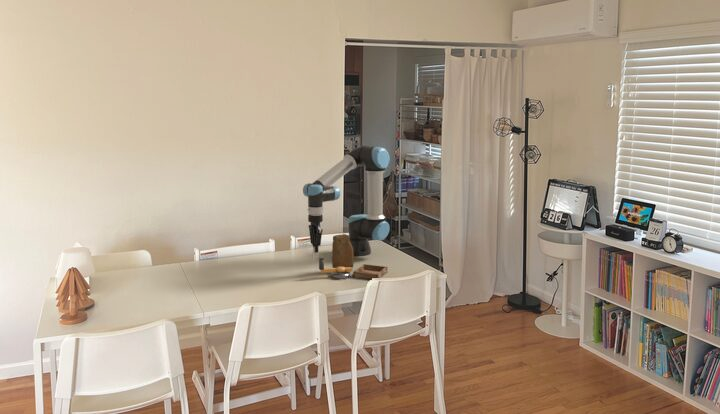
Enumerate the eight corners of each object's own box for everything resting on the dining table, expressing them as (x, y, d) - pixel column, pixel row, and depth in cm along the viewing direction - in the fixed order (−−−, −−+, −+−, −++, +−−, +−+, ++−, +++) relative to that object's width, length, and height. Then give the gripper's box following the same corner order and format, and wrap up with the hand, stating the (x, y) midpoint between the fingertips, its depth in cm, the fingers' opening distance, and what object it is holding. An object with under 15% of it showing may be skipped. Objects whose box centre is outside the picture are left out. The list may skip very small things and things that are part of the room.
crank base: (335, 272, 334) (335, 267, 333) (353, 275, 330) (353, 269, 330) (328, 278, 325) (328, 273, 324) (345, 280, 321) (345, 275, 320)
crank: (351, 269, 330) (351, 255, 329) (352, 272, 325) (352, 258, 324) (318, 270, 328) (318, 256, 326) (319, 273, 323) (319, 259, 321)
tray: (364, 269, 340) (364, 264, 339) (387, 272, 335) (387, 266, 334) (353, 277, 326) (353, 271, 326) (377, 280, 321) (377, 274, 321)
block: (336, 273, 332) (336, 237, 328) (331, 270, 339) (330, 234, 335) (354, 271, 336) (354, 235, 332) (349, 267, 343) (349, 232, 339)
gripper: (303, 212, 329) (304, 255, 334) (313, 217, 318) (314, 261, 322) (316, 211, 333) (316, 254, 337) (327, 215, 322) (327, 259, 326)
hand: (315, 257), depth 330 cm, fingers closed
